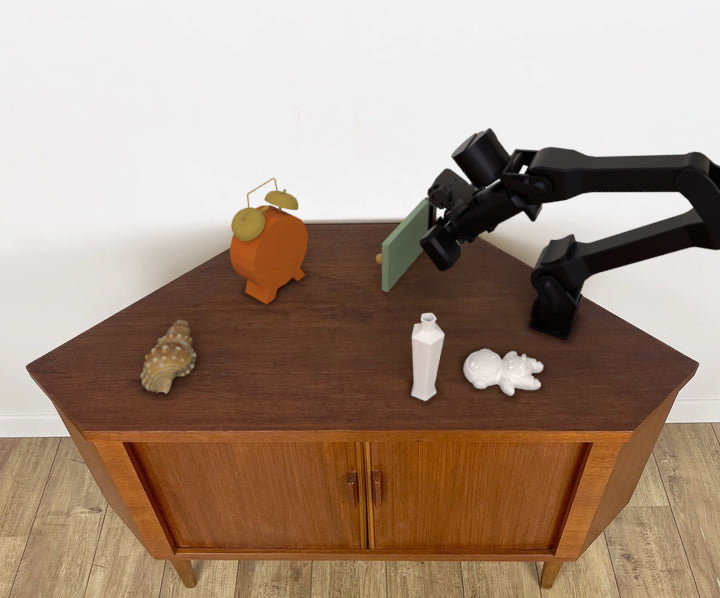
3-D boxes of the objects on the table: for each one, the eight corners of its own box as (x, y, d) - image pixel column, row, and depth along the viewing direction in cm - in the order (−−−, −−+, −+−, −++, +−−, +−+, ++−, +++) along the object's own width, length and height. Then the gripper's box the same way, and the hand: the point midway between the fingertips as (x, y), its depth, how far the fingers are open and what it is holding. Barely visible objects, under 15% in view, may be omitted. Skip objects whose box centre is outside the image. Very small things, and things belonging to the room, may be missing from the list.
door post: (425, 237, 129) (427, 196, 122) (439, 241, 127) (442, 200, 121) (418, 245, 127) (420, 204, 120) (432, 249, 126) (435, 209, 119)
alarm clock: (287, 258, 125) (275, 162, 110) (312, 271, 122) (302, 173, 108) (236, 295, 118) (216, 197, 103) (261, 309, 115) (243, 210, 101)
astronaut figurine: (536, 403, 99) (539, 390, 97) (457, 384, 102) (459, 370, 100) (545, 363, 105) (549, 349, 102) (470, 346, 108) (472, 332, 105)
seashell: (149, 373, 109) (152, 314, 106) (199, 378, 110) (203, 320, 107) (134, 393, 101) (136, 330, 98) (189, 399, 101) (192, 336, 98)
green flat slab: (413, 239, 126) (415, 193, 119) (428, 244, 125) (431, 198, 118) (372, 287, 117) (371, 240, 110) (387, 292, 116) (388, 245, 109)
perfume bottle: (437, 404, 99) (444, 331, 88) (407, 400, 100) (411, 327, 89) (440, 381, 102) (447, 308, 92) (412, 378, 103) (416, 305, 92)
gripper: (487, 135, 105) (421, 180, 117) (435, 192, 94) (368, 235, 106) (527, 192, 107) (458, 230, 119) (481, 254, 96) (410, 289, 108)
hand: (424, 244), depth 113 cm, fingers closed
